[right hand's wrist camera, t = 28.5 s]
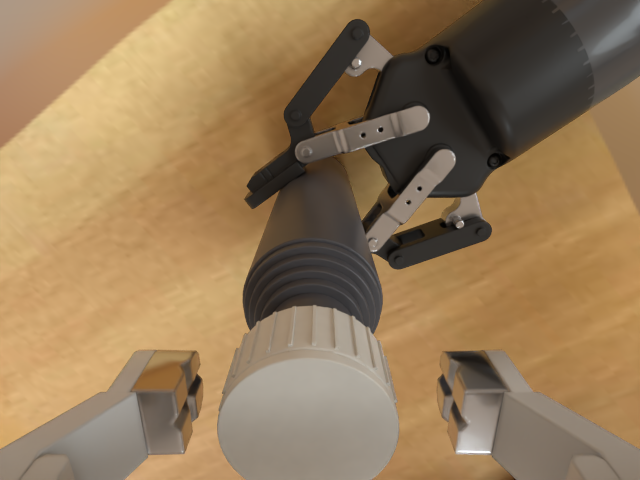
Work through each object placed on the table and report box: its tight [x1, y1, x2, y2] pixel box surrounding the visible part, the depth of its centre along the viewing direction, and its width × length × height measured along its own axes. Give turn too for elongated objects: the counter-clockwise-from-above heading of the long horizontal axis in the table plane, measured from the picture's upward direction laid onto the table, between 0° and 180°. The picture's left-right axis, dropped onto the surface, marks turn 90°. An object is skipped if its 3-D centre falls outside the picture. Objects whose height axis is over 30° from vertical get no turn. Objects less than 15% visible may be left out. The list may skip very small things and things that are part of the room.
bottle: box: [243, 156, 383, 334], centre depth 19 cm, size 5×5×22 cm
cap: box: [217, 305, 399, 480], centre depth 10 cm, size 4×4×2 cm
